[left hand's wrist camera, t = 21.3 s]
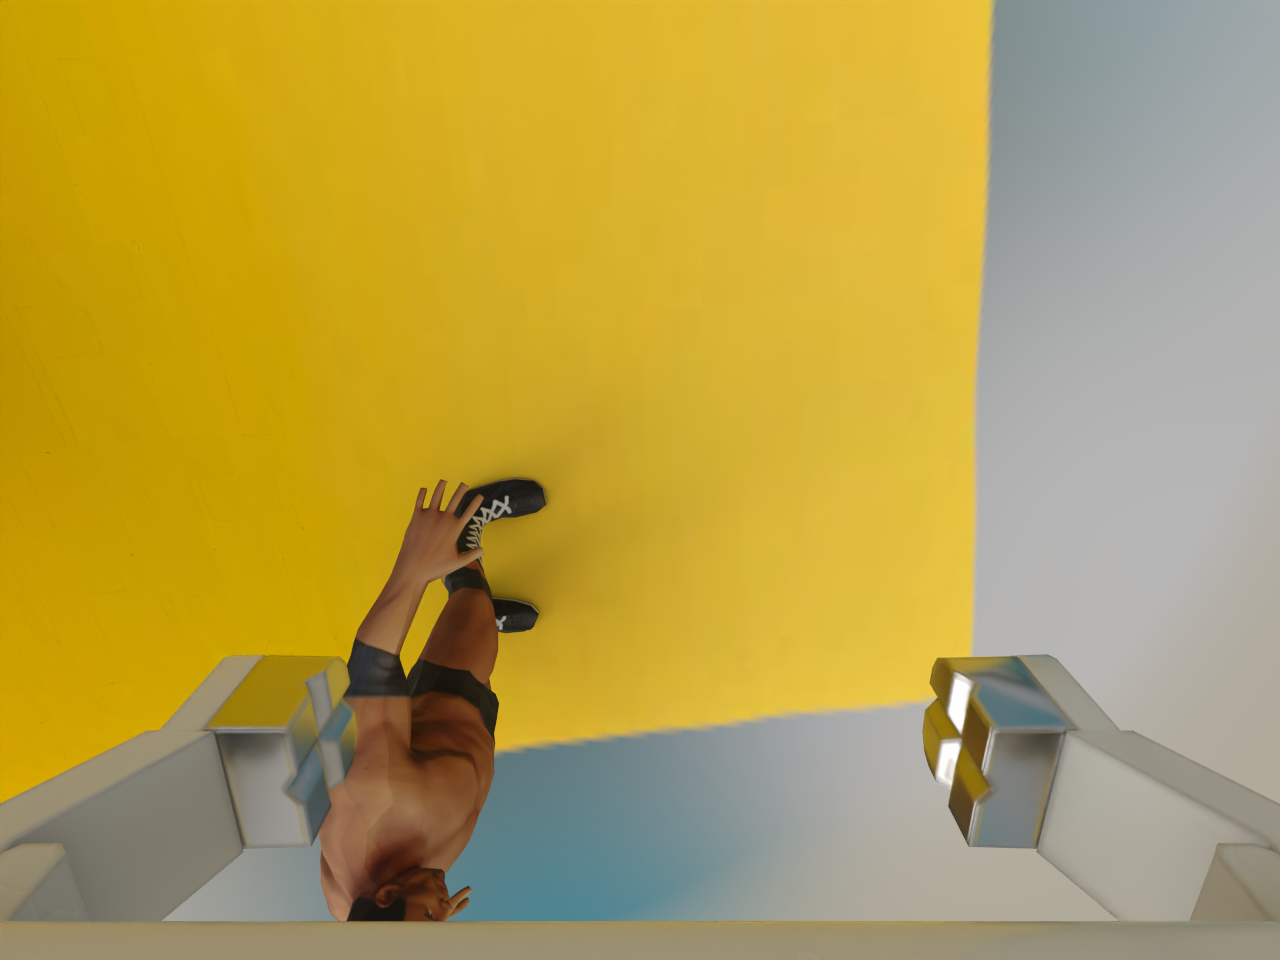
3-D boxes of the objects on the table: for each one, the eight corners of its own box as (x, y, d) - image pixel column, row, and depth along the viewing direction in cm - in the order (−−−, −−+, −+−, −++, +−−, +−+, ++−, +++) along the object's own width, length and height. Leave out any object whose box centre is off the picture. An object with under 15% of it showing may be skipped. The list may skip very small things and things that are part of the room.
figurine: (536, 704, 56) (436, 1212, 29) (451, 697, 56) (266, 1201, 28) (559, 387, 48) (446, 670, 20) (458, 376, 48) (200, 648, 20)
